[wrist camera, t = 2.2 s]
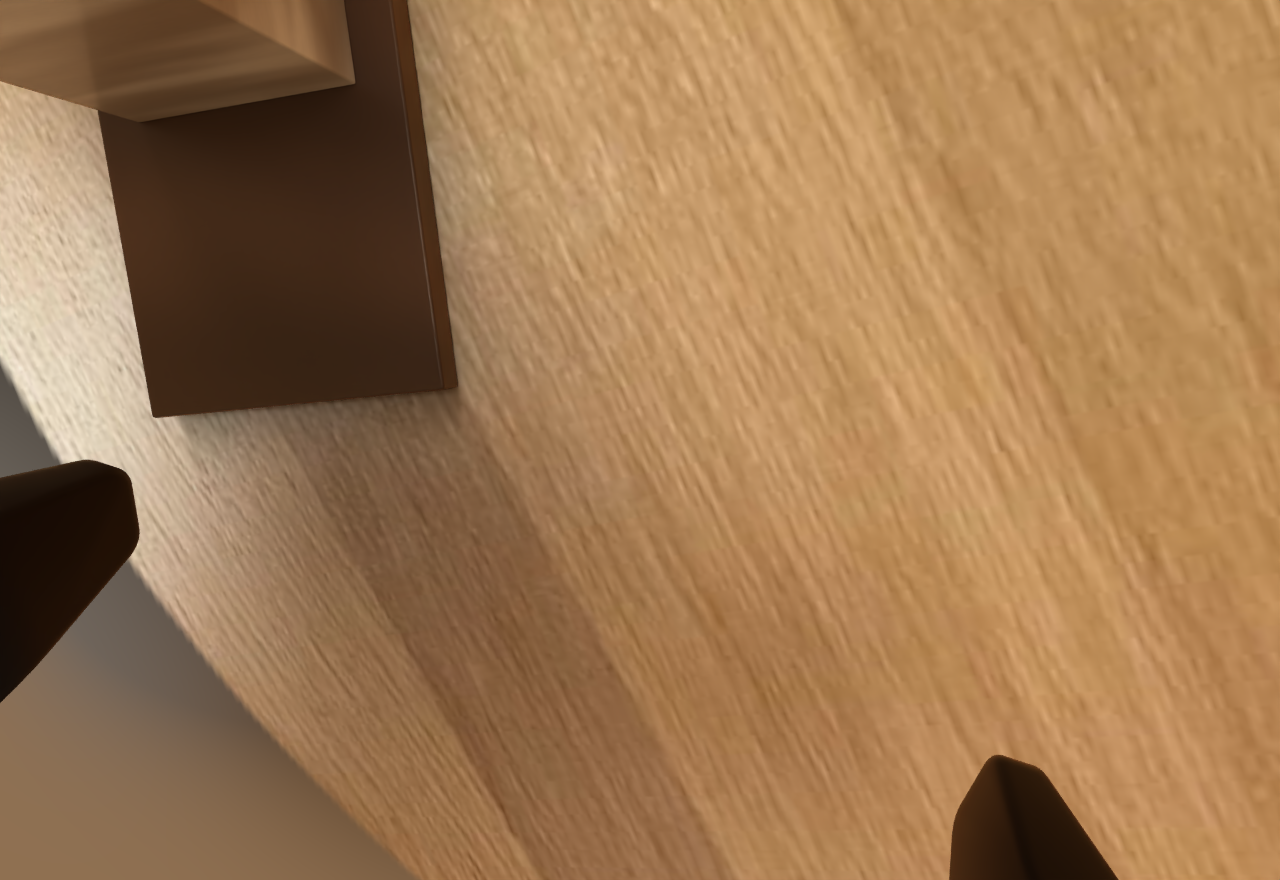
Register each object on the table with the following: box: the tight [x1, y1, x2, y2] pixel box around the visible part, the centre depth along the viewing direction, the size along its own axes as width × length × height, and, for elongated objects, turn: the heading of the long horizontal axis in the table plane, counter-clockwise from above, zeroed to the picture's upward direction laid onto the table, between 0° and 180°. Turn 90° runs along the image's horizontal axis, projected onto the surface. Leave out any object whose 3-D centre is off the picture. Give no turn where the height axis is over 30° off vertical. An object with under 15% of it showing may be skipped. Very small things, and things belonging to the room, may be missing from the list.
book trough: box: [0, 0, 457, 418], centre depth 17 cm, size 15×9×13 cm, turn 6°
